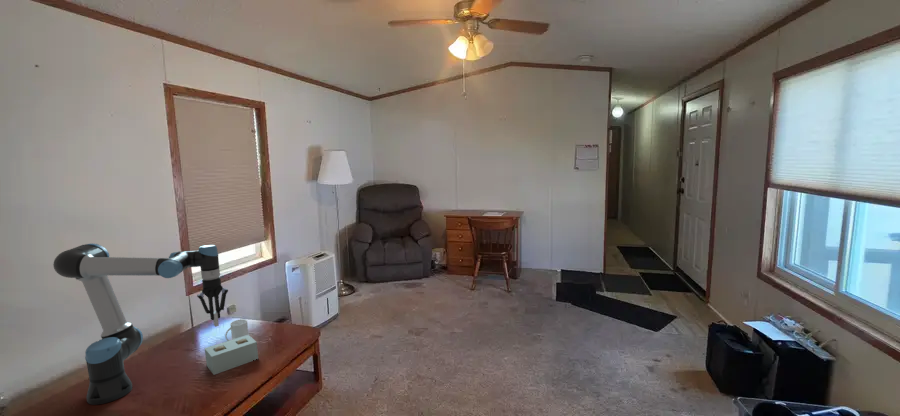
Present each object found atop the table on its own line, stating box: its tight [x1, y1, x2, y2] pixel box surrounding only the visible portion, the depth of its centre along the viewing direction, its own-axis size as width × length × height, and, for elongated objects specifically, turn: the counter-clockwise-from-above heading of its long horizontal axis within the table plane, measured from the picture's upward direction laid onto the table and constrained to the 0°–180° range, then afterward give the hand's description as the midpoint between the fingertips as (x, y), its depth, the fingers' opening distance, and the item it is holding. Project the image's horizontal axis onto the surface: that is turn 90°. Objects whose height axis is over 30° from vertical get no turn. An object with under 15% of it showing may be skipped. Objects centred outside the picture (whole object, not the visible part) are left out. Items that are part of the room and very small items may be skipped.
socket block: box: [204, 334, 259, 375], centre depth 200 cm, size 20×12×9 cm, turn 134°
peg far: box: [237, 339, 246, 345], centre depth 203 cm, size 4×4×8 cm
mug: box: [224, 318, 250, 341], centre depth 218 cm, size 12×8×12 cm
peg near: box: [215, 346, 225, 352], centre depth 196 cm, size 4×4×8 cm
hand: (216, 325), depth 194 cm, fingers closed
